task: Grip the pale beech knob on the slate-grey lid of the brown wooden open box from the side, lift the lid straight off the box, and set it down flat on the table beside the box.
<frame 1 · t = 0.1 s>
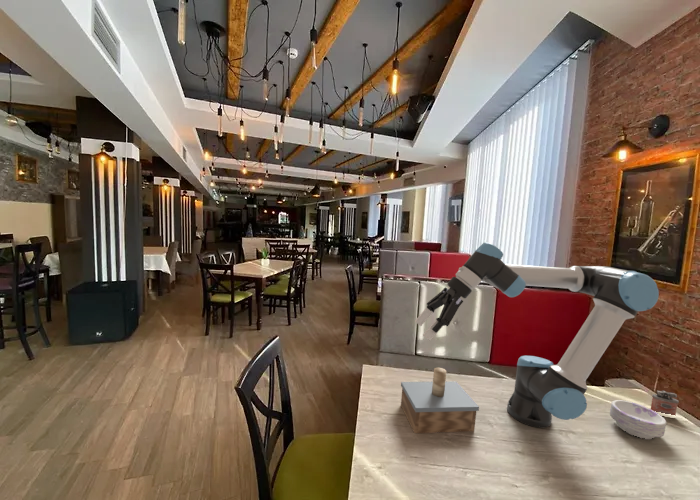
hand: (421, 330, 106), 36 cm above the table, tool tilted 35°, fingers open, 13 cm apart
brown wooden open box: (435, 417, 117), on the table
lid: (437, 397, 116), point 8 cm above the table, touching brown wooden open box
lighter: (662, 415, 129), on the table
paper bowls: (634, 431, 117), on the table
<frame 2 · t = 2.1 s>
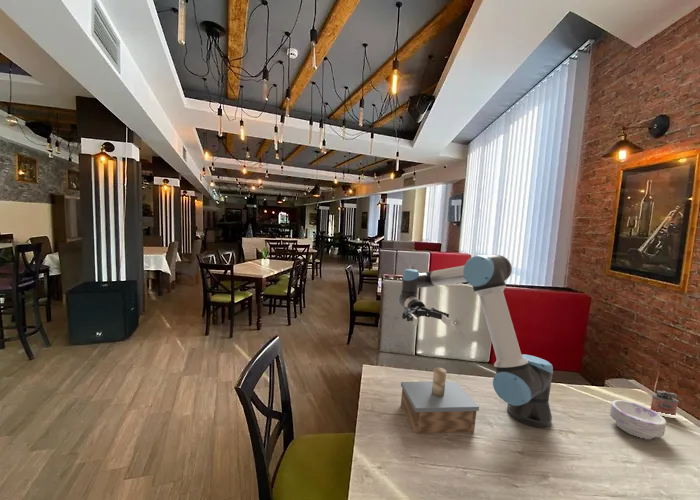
hand: (433, 322, 123), 33 cm above the table, tool horizontal, fingers open, 13 cm apart
nothing on the table moved.
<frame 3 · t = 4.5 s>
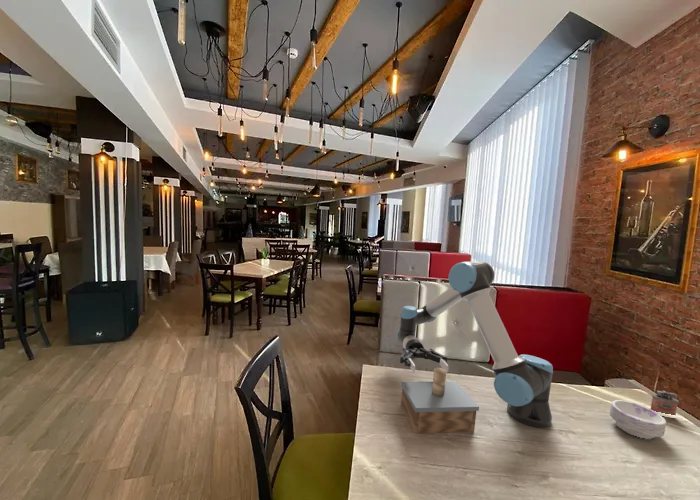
hand: (431, 369, 122), 15 cm above the table, tool horizontal, fingers open, 13 cm apart
nothing on the table moved.
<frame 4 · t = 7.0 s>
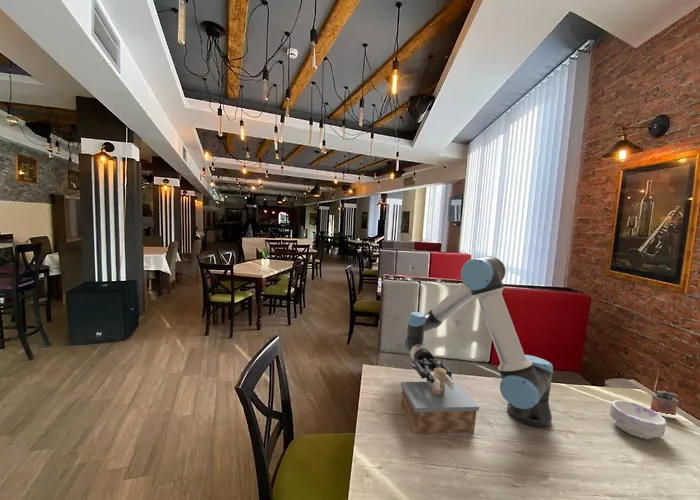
hand: (445, 385, 110), 15 cm above the table, tool horizontal, fingers closed on lid, 4 cm apart
lid: (437, 397, 116), point 8 cm above the table, touching gripper, brown wooden open box
everything else where it was.
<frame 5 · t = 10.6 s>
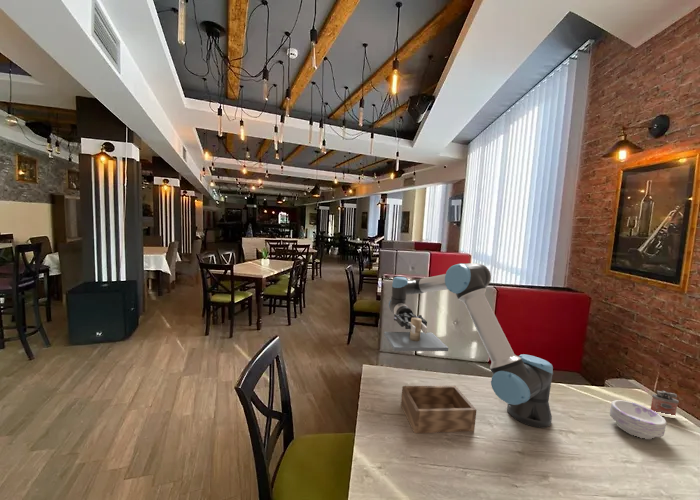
hand: (420, 330, 130), 28 cm above the table, tool horizontal, fingers closed on lid, 4 cm apart
lid: (414, 342, 136), point 20 cm above the table, touching gripper
everything else where it was.
when the fingers open (9 cm above the table, at t = 14.1 s): lid drops 3 cm, on the table.
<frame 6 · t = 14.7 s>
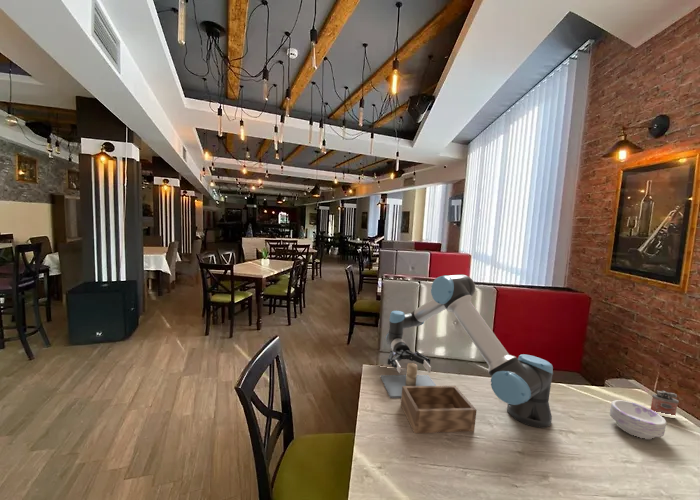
hand: (415, 369, 134), 10 cm above the table, tool horizontal, fingers open, 13 cm apart
lid: (410, 387, 138), on the table
everything else where it was.
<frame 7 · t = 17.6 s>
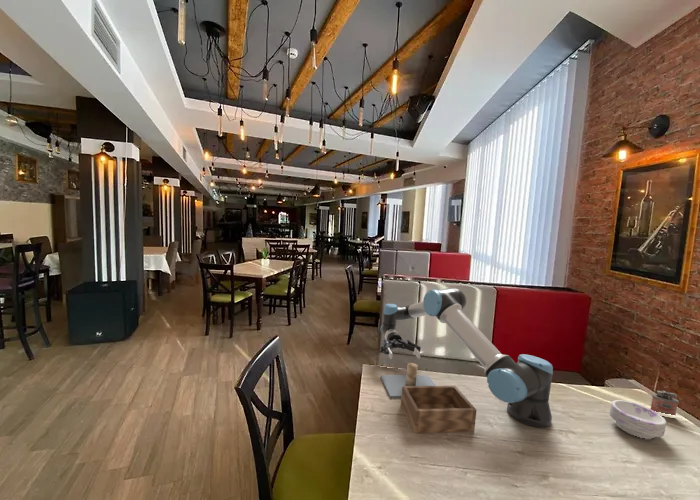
hand: (405, 356, 146), 10 cm above the table, tool horizontal, fingers open, 13 cm apart
nothing on the table moved.
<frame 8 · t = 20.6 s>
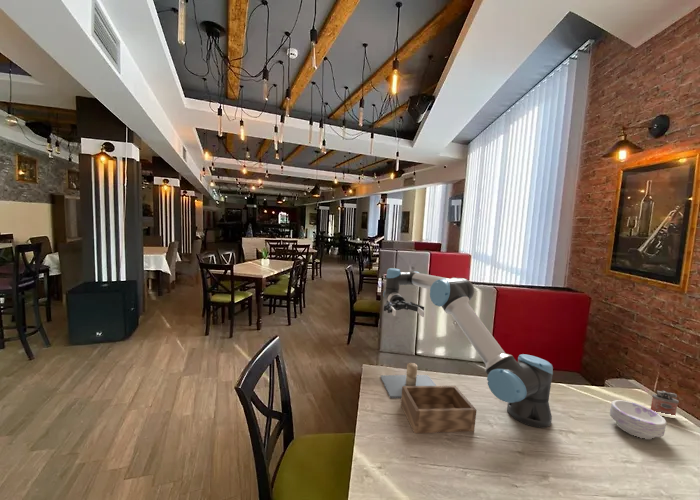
hand: (409, 313, 144), 30 cm above the table, tool horizontal, fingers open, 13 cm apart
nothing on the table moved.
at the end: lid inside the target area (0.5 cm from its centre), on the table; lid tilted 0°; lid touching table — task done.
